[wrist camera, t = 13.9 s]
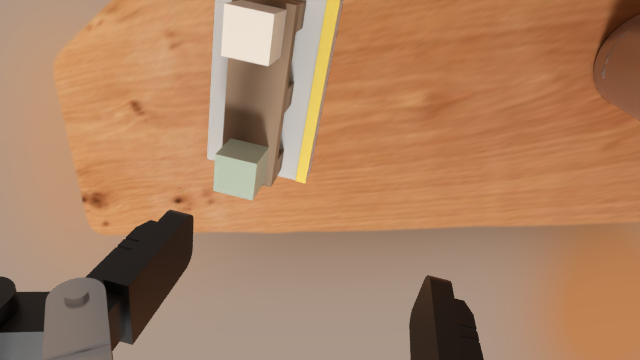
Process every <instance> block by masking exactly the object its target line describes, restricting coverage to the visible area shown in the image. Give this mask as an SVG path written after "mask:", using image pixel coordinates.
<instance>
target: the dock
mask: <svg viewBox="0 0 640 360" xmlns="http://www.w3.org/2000/svg"><path fill="white" fill-rule="evenodd" d="M301 1H306V9H305V15H304V22H303V28H302V29H301V30H299V31H297V32H296V36H295V43H294V49H293V56H292V63H291V70H290V77H289V82H294V88H293V95H292V101H291V105H290V107H289V108H288V109H287V111H286V112H285V113H284V119H283V126H282V133H281V140H280V147H279V149H281V150H284V154H283V161H282V168H281V170H280V172H279V174H278V176H280V177H284V178H289V179H293V180H295V181H297V182H302V183H306V181H307V178H308V176H309V173H310V170H311V165H312V160H313V155H314V150H315V145H316V139H317V134H318V129H319V124H320V119H321V114H322V108H323V103H324V98H325V93H326V88H327V83H328V77H329V72H330V67H331V62H332V57H333V52H334V46H335V41H336V36H337V31H338V26H339V21H340V15H341V10H342V5H343V0H301ZM228 2H232V0H215V12H214V32H213V52H212V72H211V92H210V112H209V132H208V151H207V159H210V160H214V161H215V154H216V153H217V152H218V151H219V150H220V149H221V148H222V141H223V126H224V112H225V97H226V82H227V67H228V57H224V56H221V49H222V32H223V15H224V3H228Z"/></svg>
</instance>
